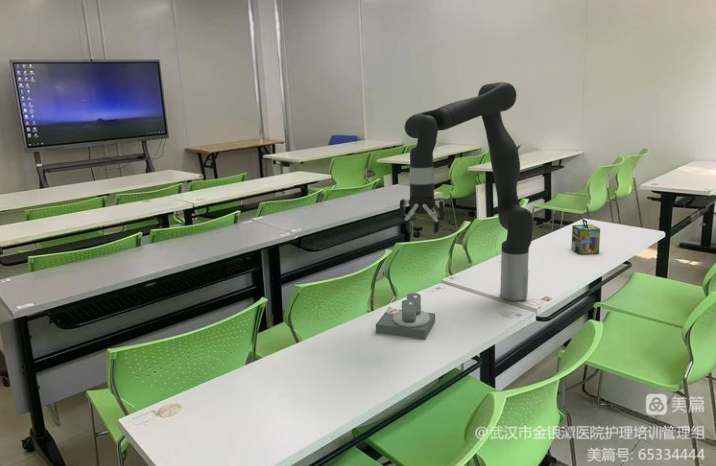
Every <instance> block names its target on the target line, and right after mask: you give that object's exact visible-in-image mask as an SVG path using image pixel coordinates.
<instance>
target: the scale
mask: <svg viewBox="0 0 716 466" xmlns="http://www.w3.org/2000/svg"><path fill="white" fill-rule="evenodd" d="M435 324H436V313H434V312H426V311H424V310H422V309H421V314H420V315H417V316H416V321H415V322H413V323H405V322H403V321H402V309H398V308H390V307H389V308H387V309H386V311H385V312H384V313H383V314H382V316H381V317H380V318H379V319H378V321H377V322H375V333H376V334H381V335H389V336H396V337H404V338H412V339H413V338H414V339H418V340H420V339H421V340H426V339H427V338H428V336H429V334H430V332H431V330H432V329H433V327H434V325H435Z"/></svg>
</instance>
